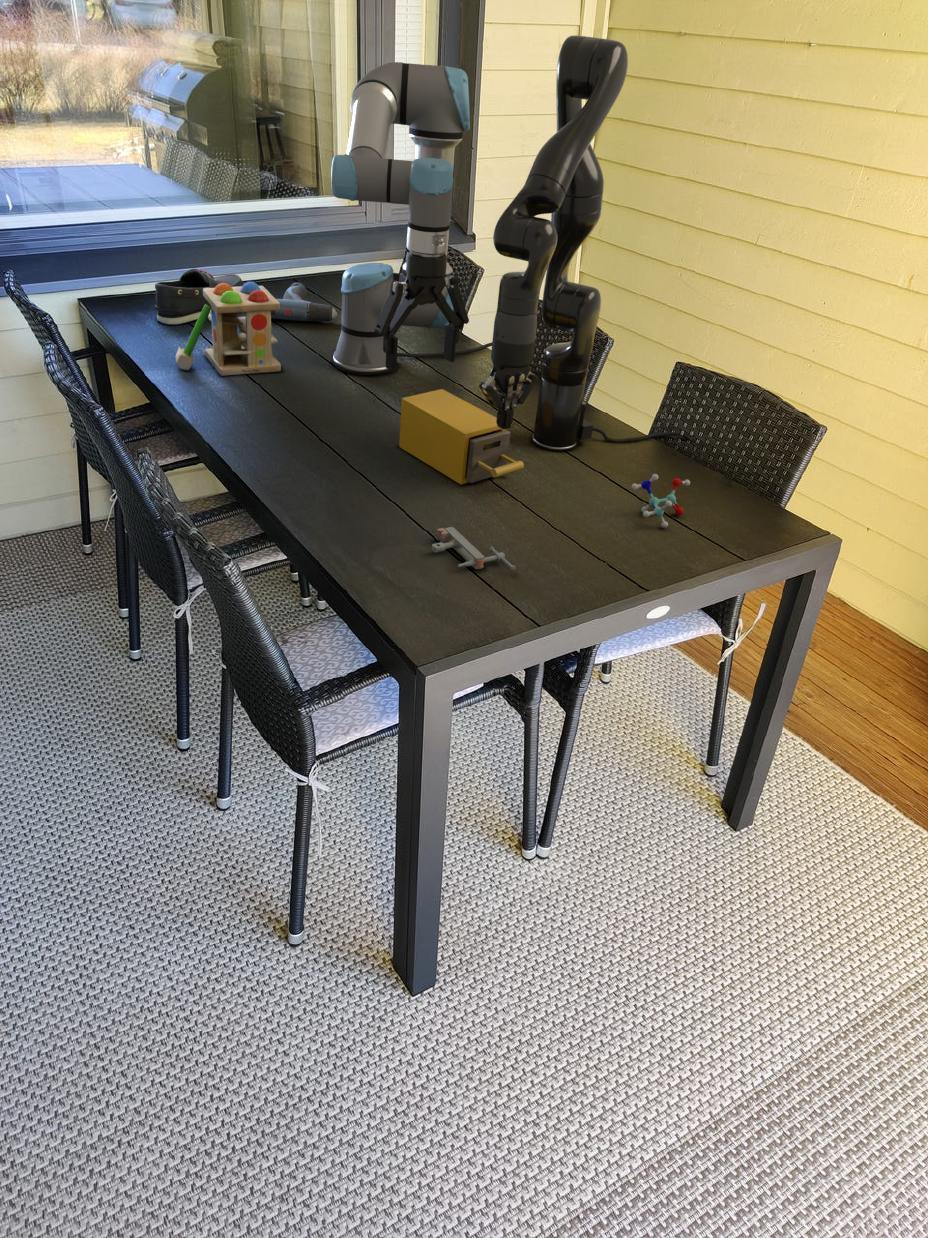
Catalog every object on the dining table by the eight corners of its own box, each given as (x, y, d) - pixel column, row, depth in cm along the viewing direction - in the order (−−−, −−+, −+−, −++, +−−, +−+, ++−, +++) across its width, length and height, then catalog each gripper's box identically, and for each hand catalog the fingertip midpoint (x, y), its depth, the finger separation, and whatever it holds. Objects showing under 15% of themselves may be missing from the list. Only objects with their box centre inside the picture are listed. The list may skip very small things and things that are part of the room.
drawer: (525, 483, 189) (531, 443, 185) (490, 495, 184) (494, 453, 179) (446, 438, 204) (449, 399, 199) (411, 447, 199) (413, 407, 194)
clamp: (422, 531, 168) (472, 521, 172) (421, 542, 169) (471, 532, 174) (465, 574, 157) (517, 562, 162) (464, 586, 159) (516, 573, 163)
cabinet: (500, 472, 195) (506, 422, 189) (460, 484, 189) (465, 433, 183) (438, 436, 207) (442, 388, 201) (399, 446, 201) (401, 398, 195)
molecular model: (693, 521, 176) (676, 468, 175) (642, 536, 180) (626, 484, 178) (699, 512, 187) (684, 462, 185) (651, 526, 190) (636, 477, 189)
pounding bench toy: (183, 379, 220) (176, 299, 210) (169, 357, 231) (162, 280, 221) (282, 371, 230) (280, 294, 220) (264, 350, 240) (262, 276, 230)
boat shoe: (263, 303, 272) (261, 264, 267) (174, 326, 248) (170, 284, 243) (229, 294, 278) (227, 256, 272) (139, 317, 254) (134, 275, 248)
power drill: (344, 304, 276) (335, 327, 259) (277, 298, 275) (264, 321, 258) (344, 285, 273) (335, 306, 256) (277, 279, 272) (264, 300, 255)
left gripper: (379, 262, 171) (375, 379, 182) (493, 251, 184) (482, 362, 195) (357, 251, 175) (355, 366, 187) (469, 242, 189) (460, 350, 200)
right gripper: (500, 347, 166) (490, 442, 176) (555, 336, 174) (543, 427, 184) (472, 334, 171) (463, 427, 181) (527, 323, 178) (516, 413, 188)
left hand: (420, 364), depth 191 cm, fingers open, 13 cm apart
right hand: (503, 427), depth 182 cm, fingers closed
